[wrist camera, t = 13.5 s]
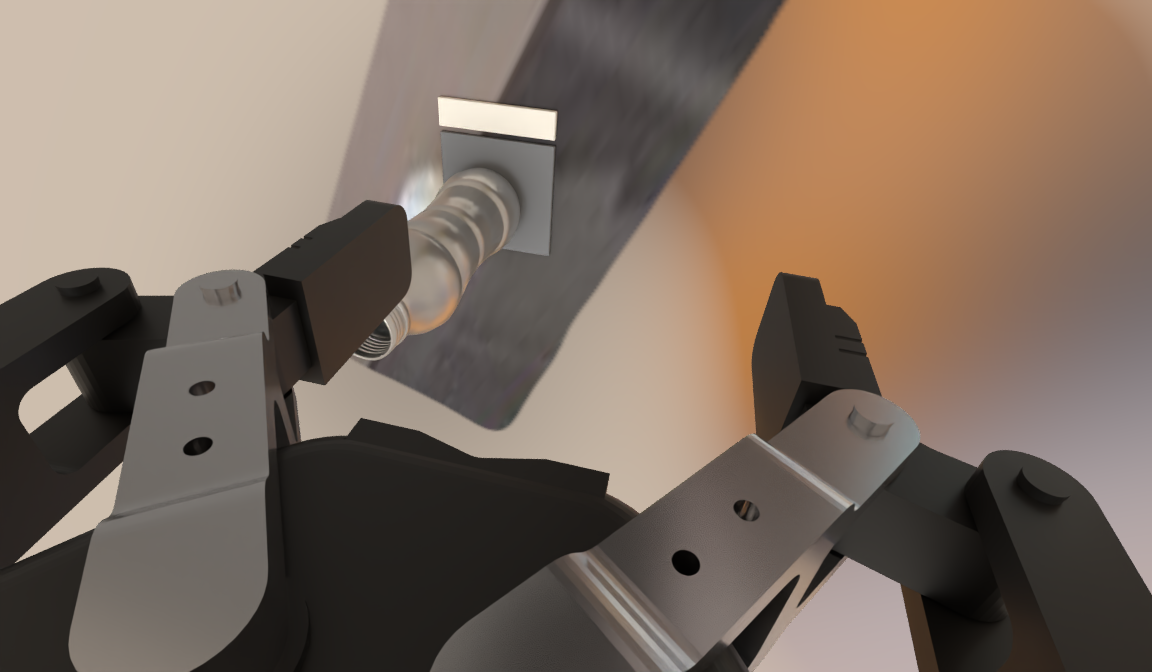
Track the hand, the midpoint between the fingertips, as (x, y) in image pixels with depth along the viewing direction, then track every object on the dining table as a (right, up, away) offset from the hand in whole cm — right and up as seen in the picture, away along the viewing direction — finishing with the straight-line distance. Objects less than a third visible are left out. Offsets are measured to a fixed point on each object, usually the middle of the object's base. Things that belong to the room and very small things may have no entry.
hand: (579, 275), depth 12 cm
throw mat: (-6, +11, +33) cm, 35 cm away
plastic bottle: (-7, +10, +34) cm, 36 cm away
